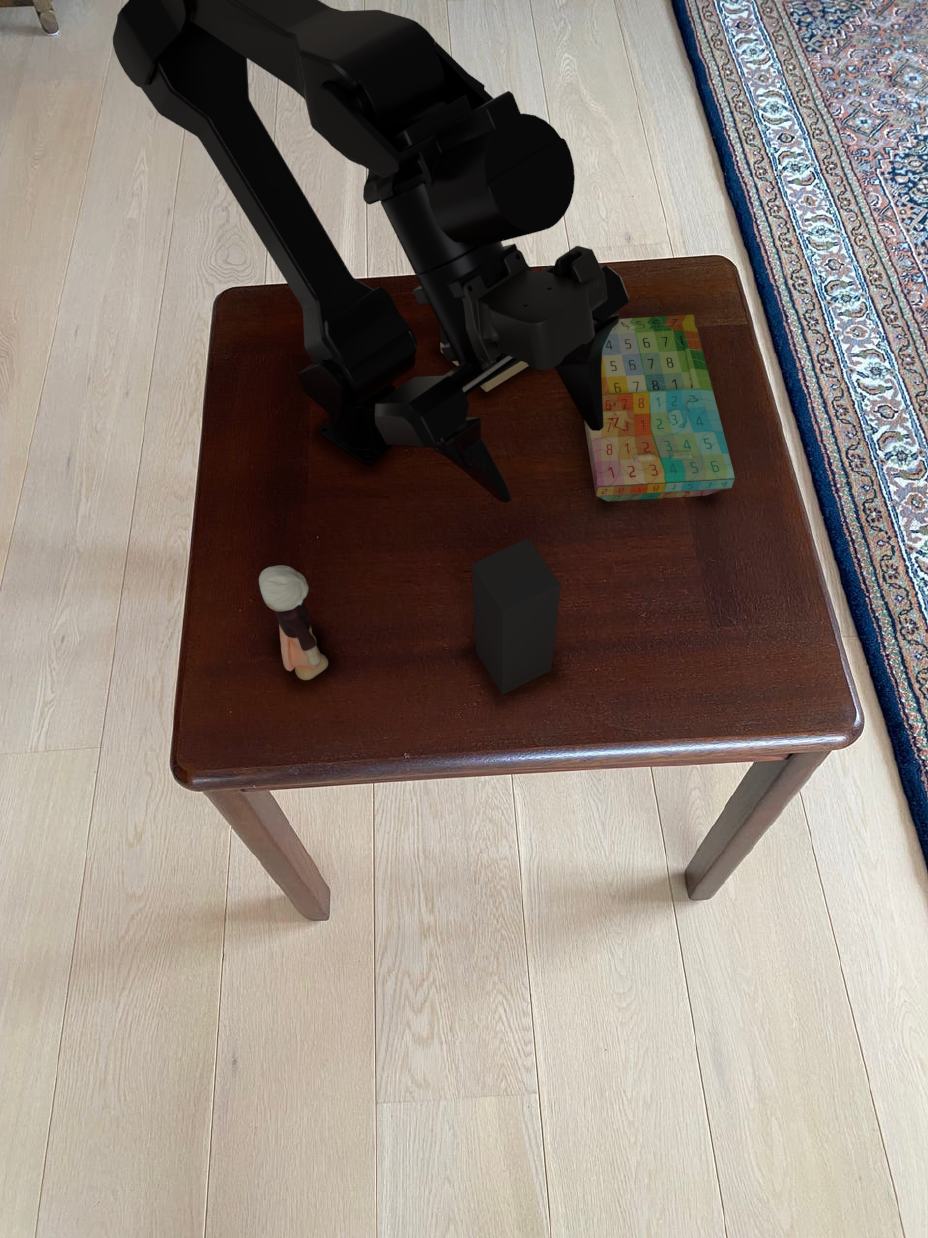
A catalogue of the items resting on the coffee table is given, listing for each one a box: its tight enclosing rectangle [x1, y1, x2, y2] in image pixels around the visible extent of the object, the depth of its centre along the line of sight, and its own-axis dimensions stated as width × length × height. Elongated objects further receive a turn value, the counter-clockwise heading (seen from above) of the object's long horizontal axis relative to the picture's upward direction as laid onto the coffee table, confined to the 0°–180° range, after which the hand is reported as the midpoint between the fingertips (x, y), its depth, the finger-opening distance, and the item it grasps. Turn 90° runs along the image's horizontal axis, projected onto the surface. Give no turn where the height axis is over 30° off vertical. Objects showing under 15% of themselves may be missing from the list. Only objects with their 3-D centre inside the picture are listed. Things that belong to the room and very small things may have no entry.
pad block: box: [471, 537, 562, 696], centre depth 69 cm, size 4×4×13 cm
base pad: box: [439, 326, 529, 393], centre depth 90 cm, size 7×7×3 cm
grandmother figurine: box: [258, 564, 329, 681], centre depth 70 cm, size 8×4×13 cm, turn 37°
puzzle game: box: [583, 314, 736, 502], centre depth 84 cm, size 12×5×20 cm
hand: (552, 464), depth 65 cm, fingers open, 9 cm apart
